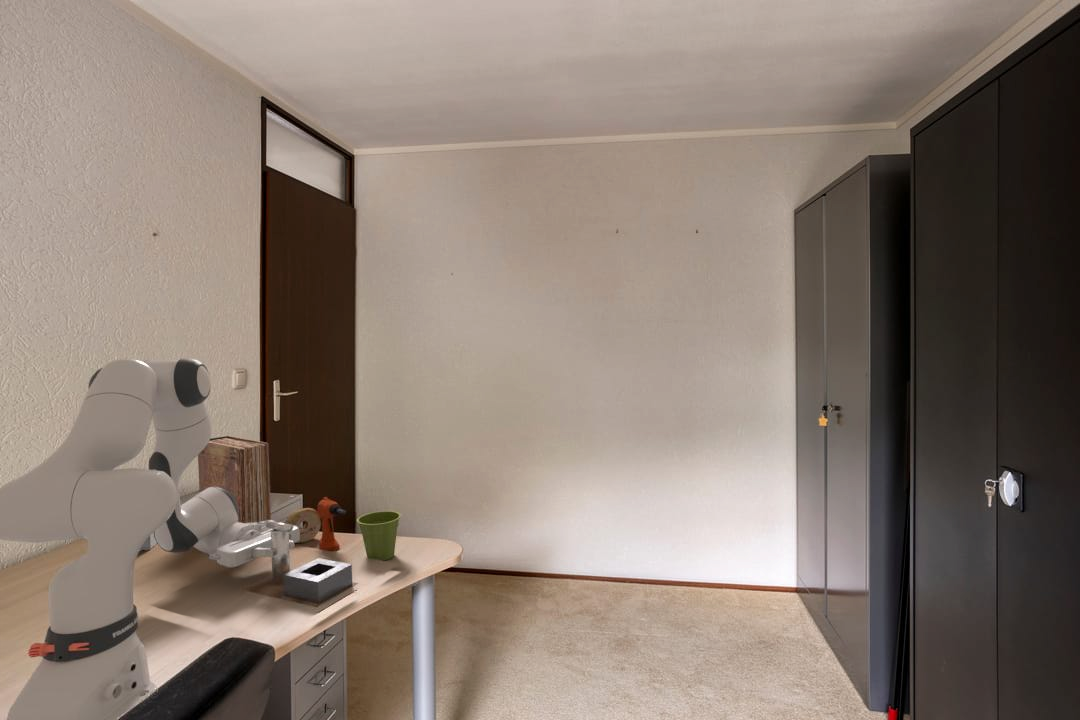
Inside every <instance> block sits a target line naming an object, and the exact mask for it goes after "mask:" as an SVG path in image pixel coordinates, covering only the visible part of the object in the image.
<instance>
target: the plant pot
mask: <svg viewBox="0 0 1080 720" xmlns="http://www.w3.org/2000/svg"><path fill="white" fill-rule="evenodd" d="M401 517H402V514H401V513H400V512H398V511H393V510H381V511H380V510H379V511H373V512H368V513H365V514H362V515H360V516H359V517H358V518H357V519H356V523H358V525H359V529H360V531H361V536H362V538H363V544H364V549H365V552H366V558H367V559H371V560H377V561H383V562H384V561H389V560H390V559H392V558H393V556H395V551H396V550H395V549H396V543H397V533H398V532H397V531H398V527H399V522H400V519H401Z"/></svg>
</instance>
